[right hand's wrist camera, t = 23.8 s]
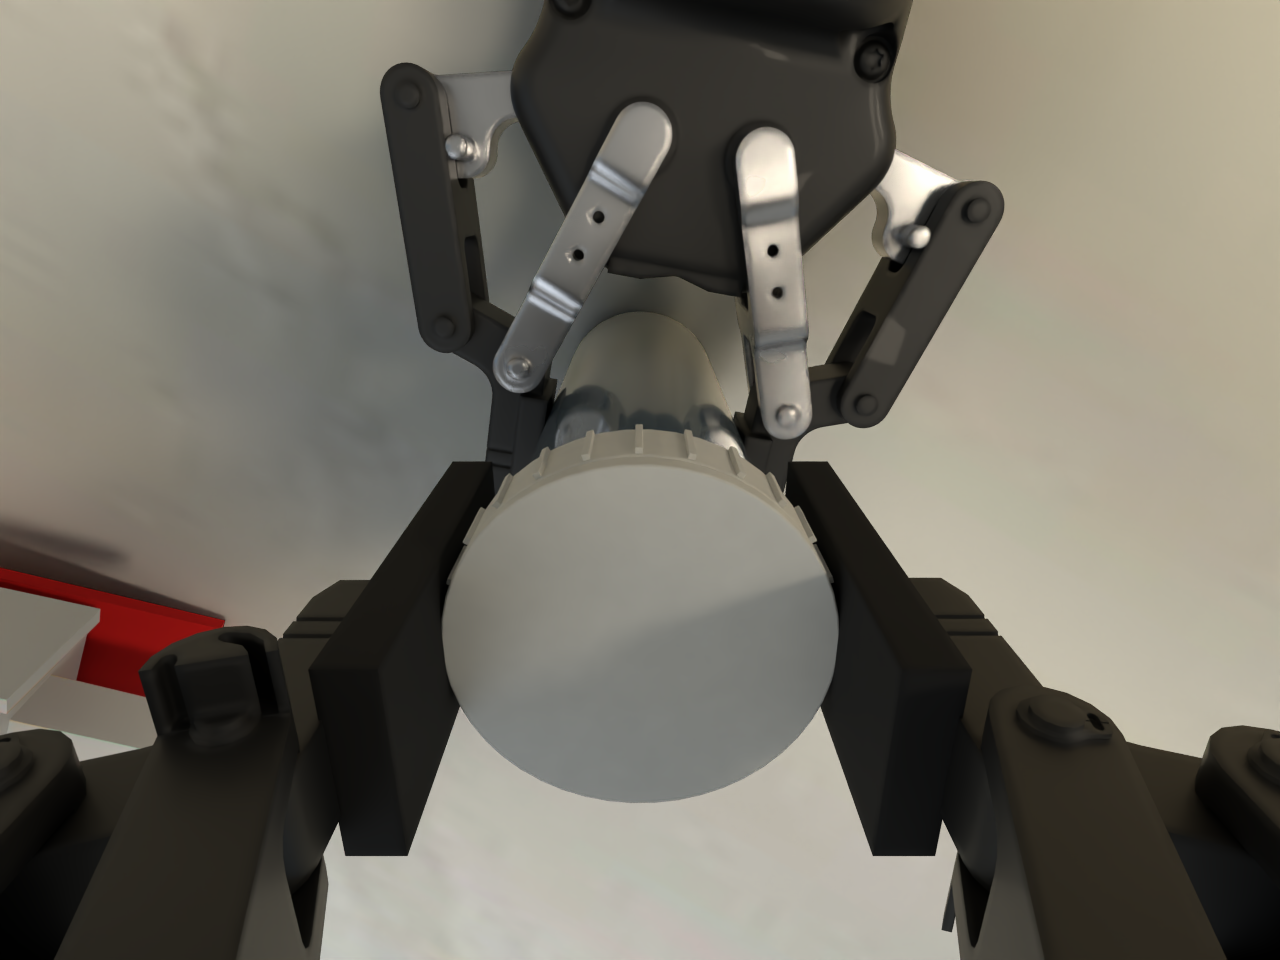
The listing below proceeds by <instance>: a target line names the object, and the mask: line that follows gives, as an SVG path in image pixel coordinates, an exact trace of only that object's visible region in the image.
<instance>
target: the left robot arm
mask: <svg viewBox="0 0 1280 960" xmlns="http://www.w3.org/2000/svg"><path fill="white" fill-rule="evenodd" d="M912 2H913V0H544V5H543V9H542V12H541V15H540V18H539V20H538V23H537V26H536V28H535V30H534V31H533V33H532V35H531V37H530V39H529V40H528V42H527V43H526V45H525V46H524V47H523V49H522V50H521V52H520V53H519V55H518V57H517V59H516V61H515V64H514V67H513V70H512V71H496V72H480V73H464V74H448V75H435V74H432V73H430V72H429V71H427V70H425V69H424V68H422V67H420V66H418V65H416V64H413V63H400V64H396V65H394V66H393V67H391V68H390V69H389V70H388V71H387V72H386V73H385V75H384V77H383V79H382V82H381V86H380V97H381V103H382V109H383V116H384V122H385V128H386V134H387V140H388V146H389V152H390V158H391V164H392V170H393V176H394V182H395V188H396V194H397V200H398V206H399V212H400V219H401V225H402V231H403V237H404V243H405V249H406V255H407V261H408V267H409V273H410V279H411V285H412V291H413V297H414V303H415V309H416V316H417V322H418V328H419V332H420V335H421V337H422V339H423V340H424V342H425V343H426V344H427V345H428V346H429V347H431V348H432V349H434V350H436V351H438V352H442V353H454V354H456V355H458V356H460V357H461V358H463V359H465V360H467V361H469V362H470V363H472V364H474V365H476V366H477V367H479V368H480V369H481V370H482V371H483V372H484V373H485V374H486V376H487V377H488V379H489V381H490V383H491V387H492V393H493V395H492V406H491V415H490V424H489V433H488V442H487V451H486V460H485V461H486V462H492V464H493V476H494V489H495V496H496V494H497V493H498V491H499V489H500V487H501V485H502V482H503V480H504V478H505V477H506V476H507V475H508V474H509V473H510V474H511V475H512V476H514V475H515V474H517V473H518V472H519V471H521V470H522V469H523V468H524V467H526V466H527V465H528V464H529V463H530V460H531V458H532V455H533V453H534V450H535V448H536V445H537V443H538V441H539V438H540V436H541V433H542V431H543V428H544V426H545V424H546V421H547V419H548V416H549V414H550V411H551V409H552V407H553V404H554V399H555V392H556V385H557V379H552V378H550V371H551V364H552V360H553V358H554V356H555V354H556V353H557V351H558V349H559V347H560V345H561V344H562V342H563V340H564V338H565V336H566V335H567V333H568V331H569V329H570V327H571V326H572V324H573V322H574V320H575V318H576V317H577V315H578V313H579V311H580V309H581V308H582V306H583V304H584V302H585V300H586V299H587V297H588V295H589V293H590V291H591V290H592V288H593V286H594V284H595V282H596V281H597V279H598V277H599V275H600V273H601V272H602V270H603V268H604V267H606V268H608V273H612V274H618V275H623V276H628V277H634V278H639V279H644V278H656V277H667V276H677V277H680V278H682V279H684V280H686V281H688V282H690V283H692V284H694V285H696V286H698V287H700V288H702V289H704V290H706V291H709V292H714V293H719V294H725V295H730V296H734V298H735V305H736V313H737V319H738V324H739V328H740V332H741V337H742V345H743V353H744V361H745V369H746V376H747V384H748V392H749V396H748V401H747V405H746V409H745V413H740V412H735V415H734V419H733V420H734V422H735V424H736V427H737V429H738V432H739V434H740V437H741V439H742V442H743V444H744V446H745V449H746V451H747V454H748V456H749V459H750V461H751V463H752V465H753V466H755V467H756V468H757V469H759V470H760V471H762V472H763V473H764V474H765V475H767V474H768V473H769V472H771V473H772V474H773V475H774V477H775V479H776V481H777V483H778V485H779V487H780V489H781V491H782V493H783V492H784V488H785V485H786V481H787V469H788V462H792V459H793V455H794V452H795V449H796V446H797V444H798V443H799V441H800V440H801V439H802V438H803V437H804V436H805V435H806V434H807V433H809V432H810V431H812V430H814V429H817V428H820V427H825V426H831V425H838V424H844V423H849V424H850V425H852V426H854V427H857V428H868V427H872V426H875V425H876V424H878V423H880V422H881V421H882V420H883V419H884V418H885V417H886V415H887V414H888V412H889V410H890V409H891V407H892V405H893V404H894V402H895V400H896V398H897V397H898V395H899V393H900V392H901V390H902V388H903V387H904V385H905V383H906V381H907V380H908V378H909V376H910V375H911V373H912V371H913V369H914V368H915V366H916V364H917V363H918V361H919V359H920V357H921V356H922V354H923V352H924V351H925V349H926V347H927V345H928V344H929V342H930V340H931V339H932V337H933V335H934V334H935V332H936V330H937V328H938V327H939V325H940V323H941V322H942V320H943V318H944V316H945V315H946V313H947V311H948V310H949V308H950V306H951V304H952V303H953V301H954V299H955V298H956V296H957V294H958V292H959V291H960V289H961V287H962V286H963V284H964V282H965V281H966V279H967V277H968V275H969V274H970V272H971V270H972V269H973V267H974V265H975V263H976V262H977V260H978V258H979V257H980V255H981V253H982V251H983V250H984V248H985V246H986V245H987V243H988V241H989V239H990V238H991V236H992V234H993V233H994V231H995V229H996V227H997V226H998V224H999V222H1000V220H1001V218H1002V216H1003V212H1004V199H1003V196H1002V193H1001V191H1000V190H999V189H998V188H997V187H996V186H995V185H994V184H992V183H990V182H987V181H972V180H956V179H954V178H952V177H950V176H948V175H946V174H944V173H942V172H940V171H938V170H936V169H934V168H932V167H930V166H928V165H926V164H924V163H922V162H920V161H918V160H916V159H914V158H912V157H910V156H908V155H907V154H905V153H903V152H901V151H899V150H897V149H895V148H896V131H895V126H894V122H893V117H892V111H891V101H890V90H891V79H892V74H893V70H894V66H895V62H896V59H897V56H898V52H899V49H900V46H901V42H902V39H903V35H904V31H905V28H906V24H907V20H908V17H909V13H910V9H911V6H912ZM516 122H519V123H520V125H521V127H522V129H523V131H524V133H525V135H526V137H527V139H528V141H529V143H530V146H531V148H532V150H533V152H534V154H535V156H536V158H537V160H538V162H539V164H540V166H541V168H542V170H543V172H544V174H545V176H546V178H547V180H548V182H549V185H550V187H551V189H552V191H553V193H554V195H555V197H556V199H557V201H558V203H559V205H560V207H561V209H562V211H563V213H564V215H565V217H566V218H565V220H564V222H563V224H562V225H561V227H560V229H559V231H558V233H557V235H556V237H555V239H554V241H553V243H552V245H551V247H550V248H549V250H548V252H547V254H546V256H545V258H544V260H543V262H542V264H541V266H540V268H539V269H538V271H537V273H536V275H535V277H534V279H533V281H532V284H531V286H530V288H529V291H528V294H527V296H526V298H525V300H524V302H523V303H522V305H521V307H520V309H519V311H518V313H517V315H516V317H514V316H512V315H510V314H508V313H507V312H505V311H503V310H501V309H500V308H498V307H496V306H494V305H493V304H491V303H489V296H488V288H487V280H486V272H485V264H484V257H483V249H482V241H481V233H480V225H479V217H478V210H477V202H476V194H475V186H474V179H476V178H481V177H484V176H485V175H487V174H488V173H489V172H491V170H492V169H493V168H494V166H495V164H496V161H497V155H498V142H499V139H500V136H501V134H502V133H503V131H504V130H505V129H506V128H507V127H508V126H510V125H511V124H513V123H516ZM869 194H870V195H871V196H872V197H873V199H874V201H875V203H876V207H877V217H876V222H875V224H874V227H873V230H872V243H873V247H874V249H875V250H876V252H877V253H878V254H879V255H880V256H882V258H881V260H880V262H879V264H878V266H877V268H876V270H875V271H874V273H873V275H872V277H871V279H870V281H869V283H868V284H867V286H866V288H865V290H864V292H863V294H862V296H861V298H860V299H859V301H858V303H857V305H856V307H855V309H854V311H853V312H852V314H851V316H850V318H849V320H848V322H847V324H846V325H845V327H844V329H843V331H842V333H841V335H840V337H839V338H838V340H837V342H836V344H835V346H834V348H833V350H832V351H831V353H830V355H829V357H828V359H827V361H826V363H825V364H824V365H820V366H814V367H808V362H807V351H806V342H807V340H808V333H809V329H808V316H807V305H806V295H805V284H804V273H803V262H802V256H803V255H804V254H805V253H806V252H807V251H808V250H809V249H810V248H812V247H813V246H814V245H815V244H816V243H817V242H818V241H819V240H820V239H821V238H822V237H823V236H824V235H826V234H827V233H828V232H829V231H830V230H831V229H832V228H833V227H834V226H835V225H836V224H837V223H838V222H840V221H841V220H842V219H843V218H844V217H845V216H846V215H847V214H848V213H849V212H850V211H851V210H853V209H854V208H855V207H856V206H857V205H858V204H859V203H860V202H861V201H862V200H863V199H864V198H865V197H867V196H868V195H869Z"/></svg>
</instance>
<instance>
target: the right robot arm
mask: <svg viewBox="0 0 1280 960" xmlns="http://www.w3.org/2000/svg"><path fill="white" fill-rule="evenodd" d="M494 497H495V489H494V476H493V464H492V462H452V464H451V465H450V466H449V468H448V469H447V471H446V472H445V474H444V475H443V477H442V478H441V479H440V481H439V482H438V484H437V485H436V487H435V488H434V489H433V491H432V492H431V494H430V495H429V497H428V498H427V499H426V501H425V502H424V504H423V505H422V507H421V508H420V509H419V511H418V512H417V514H416V515H415V517H414V518H413V520H412V521H411V522H410V524H409V525H408V527H407V528H406V530H405V531H404V532H403V534H402V535H401V537H400V538H399V540H398V541H397V542H396V544H395V545H394V547H393V548H392V550H391V551H390V553H389V554H388V555H387V557H386V558H385V560H384V561H383V563H382V564H381V565H380V567H379V568H378V570H377V571H376V573H375V574H374V575H373V577H372V578H371V580H340V581H338V582H336V583H335V584H333V585H332V586H330V587H328V588H327V589H325V590H324V591H322V592H321V593H319V594H317V595H316V596H314V597H313V598H312V599H311V600H310V601H309V603H308V604H307V605H306V606H305V608H304V609H303V610H302V611H301V613H300V614H299V615H298V616H297V621H293V622H292V624H291V625H290V626H289V627H288V629H287V630H286V631H285V632H284V634H283V638H280V639H279V640H278V641H277V638H276V637H275V636H273V635H272V634H271V633H269V632H268V631H267V630H265V629H260V628H255V627H250V626H235V627H222V628H217V629H213V630H209V631H204V632H200V633H196V634H194V635H191V636H189V637H186V638H184V639H181V640H179V641H176V642H174V643H172V644H170V645H169V646H167V647H165V648H164V649H162V650H161V651H159V652H158V653H156V654H154V655H153V656H151V657H150V658H149V659H148V661H147V662H146V663H145V664H144V665H143V666H142V667H141V668H140V669H139V671H138V674H139V677H140V680H141V683H142V687H143V690H144V693H145V697H146V700H147V703H148V707H149V710H150V713H151V716H152V720H153V723H154V726H155V730H156V733H157V738H156V740H155V742H154V744H153V745H152V746H148V747H144V748H141V749H136V750H131V751H126V752H122V753H117V754H112V755H107V756H103V757H98V758H93V759H88V760H84V761H79V759H78V756H77V753H76V750H75V748H74V745H73V742H72V739H70V738H69V737H67V736H66V735H65V734H63V733H62V732H61V731H56V730H47V729H33V730H26V731H19V732H12V733H8V734H4V735H0V960H320V953H321V945H322V936H323V927H324V918H325V910H326V901H327V892H328V878H327V871H326V865H325V861H324V856H323V853H324V851H325V849H326V847H327V845H328V843H329V841H330V838H331V836H332V834H333V832H334V830H335V828H336V826H337V824H338V822H339V826H340V831H341V836H342V841H343V846H344V851H345V856H408V853H409V850H410V847H411V844H412V842H413V839H414V836H415V833H416V830H417V827H418V824H419V822H420V819H421V816H422V813H423V810H424V807H425V805H426V802H427V799H428V796H429V793H430V790H431V787H432V785H433V782H434V779H435V776H436V773H437V770H438V767H439V765H440V762H441V759H442V756H443V753H444V750H445V747H446V745H447V742H448V739H449V736H450V733H451V730H452V728H453V725H454V722H455V719H456V716H457V713H458V710H459V708H460V705H459V703H458V701H457V698H456V696H455V694H454V692H453V690H452V688H451V685H450V682H449V679H448V675H447V672H446V665H445V657H444V648H443V639H442V628H441V618H442V613H443V607H444V601H445V596H446V593H447V590H448V587H449V585H447V584H446V582H447V579H448V577H449V575H450V573H451V571H452V569H453V567H454V565H455V563H456V561H457V559H458V557H459V555H460V553H461V551H462V549H463V547H464V546H467V545H466V544H464V543H463V540H464V538H465V536H466V534H467V532H468V531H469V529H470V527H471V525H472V523H473V521H474V519H475V517H476V515H477V513H478V511H479V509H480V508H481V507H482V508H484V509H486V508H487V507H488V505H489V504H490V503H491V501H492V500H493V498H494ZM785 497H786V498H787V499H788V500H789V502H790V503H791V504H792V506H793V507H794V508H795V507H796V506H799V507H800V508H801V510H802V512H803V514H804V516H805V518H806V520H807V522H808V524H809V526H810V528H811V530H812V532H813V534H814V536H815V538H816V539H817V541H816V542H814V543H813V544H816V545H817V547H818V549H819V551H820V553H821V555H822V557H823V559H824V561H825V563H826V565H827V567H828V569H829V571H830V573H831V575H832V577H833V580H834V583H831V586H832V588H833V591H834V595H835V599H836V604H837V609H838V614H839V635H838V644H837V653H836V661H835V668H834V674H833V678H832V681H831V684H830V686H829V688H828V691H827V693H826V696H825V698H824V700H823V702H822V704H821V709H822V712H823V715H824V718H825V721H826V723H827V726H828V729H829V732H830V735H831V738H832V741H833V743H834V746H835V749H836V752H837V755H838V758H839V761H840V763H841V766H842V769H843V772H844V775H845V778H846V780H847V783H848V786H849V789H850V792H851V795H852V798H853V800H854V803H855V806H856V809H857V812H858V815H859V818H860V820H861V823H862V826H863V829H864V832H865V835H866V837H867V840H868V843H869V846H870V849H871V852H872V855H873V856H935V854H936V849H937V844H938V839H939V834H940V829H941V824H942V819H943V821H944V823H945V825H946V827H947V830H948V832H949V834H950V836H951V838H952V840H953V842H954V844H955V846H956V848H957V850H958V851H957V856H956V861H955V865H954V870H953V875H952V879H951V884H950V888H949V893H948V898H947V902H946V907H945V912H944V918H943V924H942V930H944V931H948V932H952V929H953V924H954V920H955V916H956V925H957V934H958V943H959V951H960V960H1280V732H1279V731H1275V730H1271V729H1264V728H1257V727H1250V726H1243V725H1242V726H1233V727H1224V728H1221V729H1219V730H1218V731H1217V732H1215V733H1214V734H1213V735H1211V736H1210V738H1209V741H1208V744H1207V747H1206V749H1205V752H1204V755H1203V758H1198V757H1193V756H1188V755H1184V754H1179V753H1174V752H1169V751H1164V750H1160V749H1155V748H1150V747H1145V746H1141V745H1137V744H1133V743H1130V742H1126V740H1125V738H1124V736H1123V734H1122V733H1121V732H1120V730H1119V729H1118V728H1117V726H1116V725H1115V724H1114V722H1113V721H1112V720H1111V719H1110V718H1109V717H1108V716H1106V715H1105V714H1104V713H1102V712H1101V711H1099V710H1098V709H1097V708H1095V707H1094V706H1093V705H1091V704H1089V703H1087V702H1085V701H1083V700H1081V699H1079V698H1077V697H1074V696H1072V695H1070V694H1068V693H1065V692H1061V691H1057V690H1054V689H1050V688H1046V687H1043V686H1042V685H1041V684H1040V683H1039V681H1038V680H1037V679H1036V678H1035V676H1034V675H1033V674H1032V673H1031V671H1030V670H1029V669H1028V668H1027V667H1026V665H1025V664H1024V663H1023V662H1022V660H1021V659H1020V658H1019V657H1018V656H1017V654H1016V653H1015V652H1014V651H1013V649H1012V648H1011V647H1010V646H1009V645H1008V643H1007V642H1006V641H1005V640H1004V638H1003V637H1002V636H998V631H997V630H996V629H995V627H994V626H993V625H992V624H991V622H990V621H989V620H988V619H985V618H984V614H983V613H982V611H981V610H980V609H979V608H978V607H977V605H976V604H975V603H974V602H973V600H972V599H971V598H970V597H969V595H967V594H966V593H964V592H963V591H961V590H959V589H958V588H956V587H955V586H953V585H951V584H950V583H948V582H947V581H945V580H943V579H942V578H908V576H907V575H906V573H905V572H904V571H903V569H902V568H901V566H900V565H899V563H898V562H897V560H896V559H895V558H894V556H893V555H892V553H891V552H890V550H889V549H888V548H887V546H886V545H885V543H884V542H883V540H882V539H881V538H880V536H879V535H878V533H877V532H876V530H875V529H874V527H873V526H872V525H871V523H870V522H869V520H868V519H867V517H866V516H865V515H864V513H863V512H862V510H861V509H860V507H859V506H858V505H857V503H856V502H855V500H854V499H853V497H852V496H851V495H850V493H849V492H848V490H847V489H846V487H845V486H844V484H843V483H842V482H841V480H840V479H839V477H838V476H837V474H836V473H835V472H834V470H833V469H832V467H831V466H830V464H829V463H828V462H788V469H787V482H786V494H785Z"/></svg>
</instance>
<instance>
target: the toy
mask: <svg viewBox="0 0 1280 960" xmlns="http://www.w3.org/2000/svg"><path fill="white" fill-rule="evenodd" d="M224 622H225V620H221V619H216V618H212V617H208V616H204V615H199V614H195V613H191V612H187V611H182V610H178V609H174V608H170V607H165V606H161V605H157V604H153V603H149V602H144V601H140V600H136V599H132V598H127V597H123V596H119V595H115V594H110V593H106V592H102V591H98V590H93V589H89V588H85V587H81V586H76V585H72V584H68V583H64V582H59V581H55V580H51V579H47V578H42V577H38V576H34V575H30V574H25V573H21V572H17V571H13V570H8V569H4V568H0V735H4V734H8V733H12V732H19V731H26V730H33V729H47V730H56V731H61V732H62V733H63V734H65V735H66V736H67V737H69V738H70V739H72V742H73V745H74V748H75V750H76V753H77V756H78V759H79V761H84V760H88V759H93V758H98V757H103V756H107V755H112V754H117V753H122V752H126V751H131V750H136V749H141V748H144V747H148V746H152V745H153V744H154V742H155V740H156V738H157V733H156V730H155V726H154V723H153V720H152V716H151V713H150V710H149V707H148V703H147V700H146V697H145V693H144V690H143V687H142V683H141V680H140V677H139V674H138V671H139V669H140V668H141V667H142V666H143V665H144V664H145V663H146V662H147V661H148V659H149V658H150V657H151V656H153V655H154V654H156V653H158V652H159V651H161V650H162V649H164V648H165V647H167V646H169V645H170V644H172V643H174V642H176V641H179V640H181V639H184V638H186V637H189V636H191V635H194V634H196V633H200V632H204V631H209V630H213V629H217V628H222V627H223V626H224Z"/></svg>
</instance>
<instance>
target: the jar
mask: <svg viewBox="0 0 1280 960" xmlns="http://www.w3.org/2000/svg"><path fill="white" fill-rule="evenodd" d="M636 424H643V429H652V430H660V431H669V432H677V433H681V434H684V431H685V429H687V430H691V431H692V434H693V437H697V438H701V439H703V440H706V441H708V442H711V443H714V444H716V445H719V446H721V447H724V448H725V449H727V450H728V449H729V448H730V446H733V447H735V448H737V451H738V453H739V456H740V457H742V458H744V459H745V460H747V461H748V462H749V463H751V461H750V459H749V456H748V454H747V451H746V449H745V446H744V444H743V442H742V439H741V437H740V434H739V432H738V429H737V427H736V424H735V422H734V420H733V417H732V415H731V412H730V410H729V407H728V405H727V403H726V400H725V398H724V395H723V393H722V390H721V388H720V385H719V383H718V381H717V378H716V376H715V373H714V371H713V368H712V366H711V363H710V361H709V359H708V356H707V354H706V352H705V350H704V348H703V346H702V345H701V343H700V342H699V340H698V339H697V338H696V337H695V335H694V334H693V333H692V332H691V331H690V330H689V329H687V328H686V327H685V326H684V325H682V324H681V323H679V322H678V321H676V320H674V319H672V318H670V317H667V316H664V315H662V314H658V313H653V312H644V311H637V312H628V313H623V314H619V315H616V316H613V317H611V318H609V319H607V320H605V321H603V322H602V323H600V324H599V325H597V326H596V327H595V328H593V329H592V330H591V331H590V332H589V333H588V334H587V335H586V336H585V337H584V339H583V340H582V341H581V343H580V344H579V346H578V347H577V349H576V351H575V354H574V356H573V358H572V360H571V363H570V365H569V368H568V370H567V373H566V375H565V377H564V380H563V382H562V385H561V387H560V390H559V392H558V394H557V397H556V399H555V402H554V404H553V407H552V409H551V411H550V414H549V416H548V419H547V421H546V424H545V426H544V428H543V431H542V433H541V436H540V438H539V441H538V443H537V445H536V448H535V450H534V453H533V455H532V458H531V460H530V463H531V462H532V461H534V460H535V459H537V458H539V456H540V454H541V451H542V449H544V448H546V447H548V448H549V449H550V451H551V450H553V449H555V448H557V447H560V446H562V445H564V444H567V443H569V442H572V441H574V440H577V439H580V438H584V437H586V432H587V431H590V430H594V433H595V434H599V433H605V432H612V431H619V430H635V425H636ZM530 463H529V464H530ZM751 464H752V463H751Z"/></svg>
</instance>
